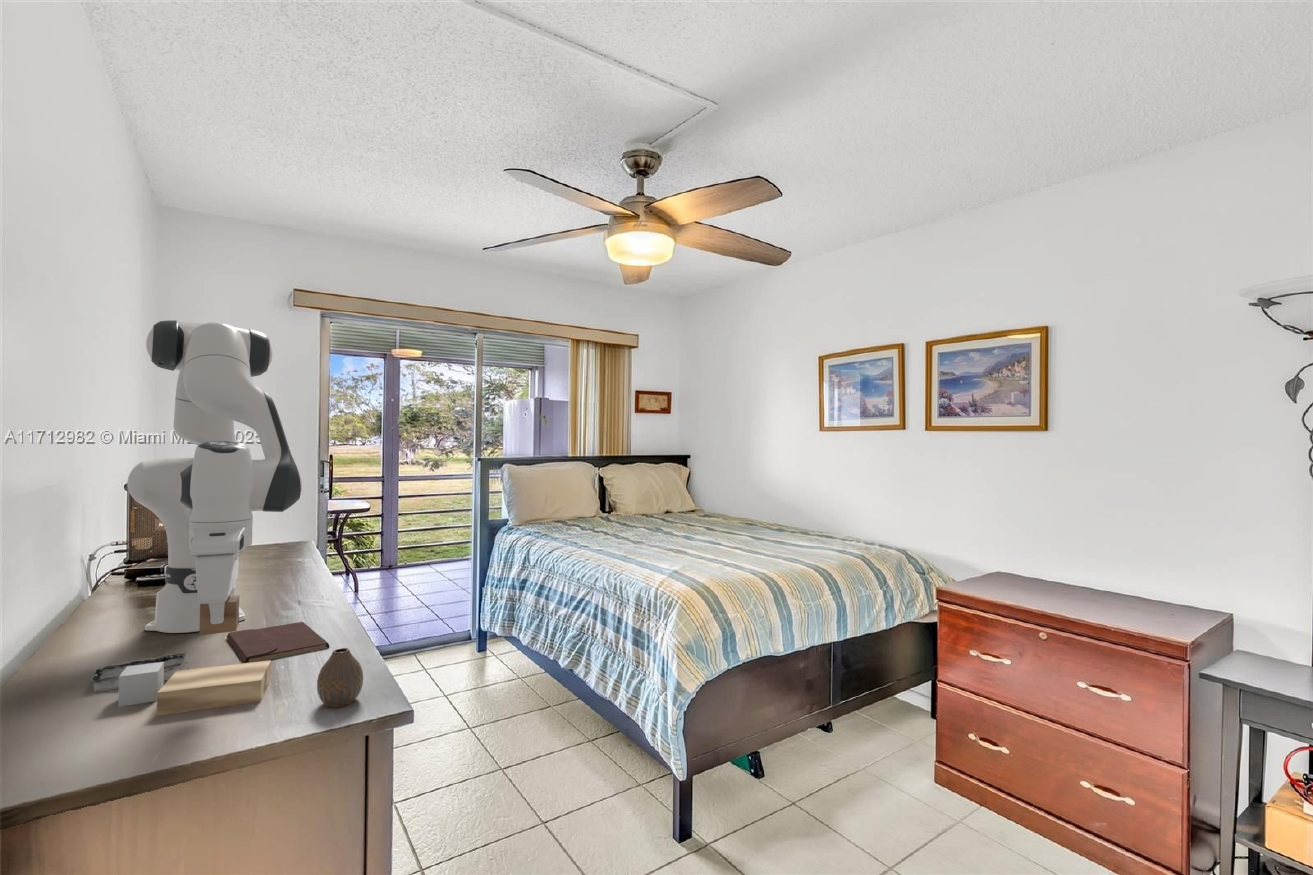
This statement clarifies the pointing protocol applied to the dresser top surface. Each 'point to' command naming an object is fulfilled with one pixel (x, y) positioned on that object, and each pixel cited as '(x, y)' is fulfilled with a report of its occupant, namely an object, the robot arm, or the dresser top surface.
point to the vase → (340, 679)
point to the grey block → (140, 683)
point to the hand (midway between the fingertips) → (219, 617)
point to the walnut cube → (229, 617)
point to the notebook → (275, 642)
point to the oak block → (214, 687)
